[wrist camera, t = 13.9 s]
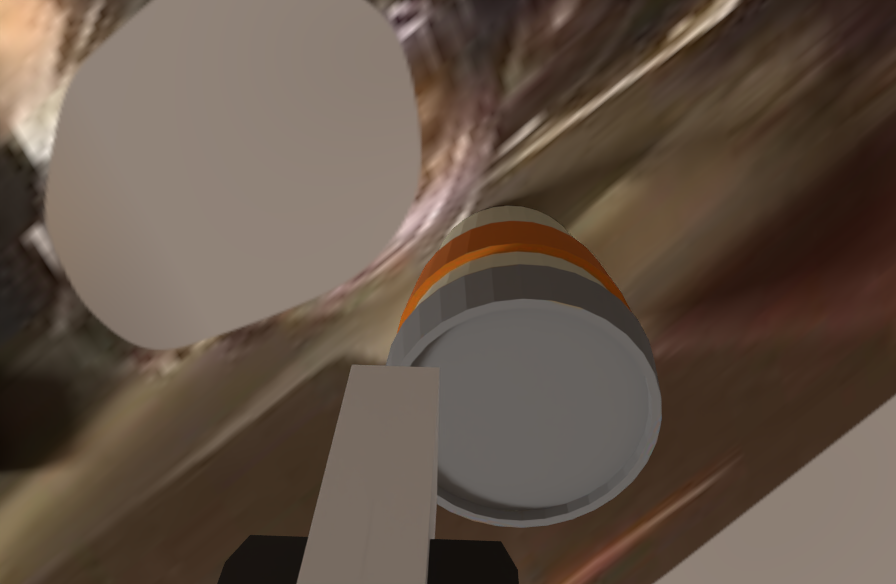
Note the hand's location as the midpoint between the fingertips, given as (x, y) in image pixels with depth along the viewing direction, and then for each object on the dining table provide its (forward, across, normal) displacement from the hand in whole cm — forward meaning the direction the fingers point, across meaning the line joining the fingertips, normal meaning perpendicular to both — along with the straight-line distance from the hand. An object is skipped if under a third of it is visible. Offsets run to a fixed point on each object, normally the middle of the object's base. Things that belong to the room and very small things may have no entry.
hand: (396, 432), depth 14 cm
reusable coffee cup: (+33, +4, -12) cm, 35 cm away
